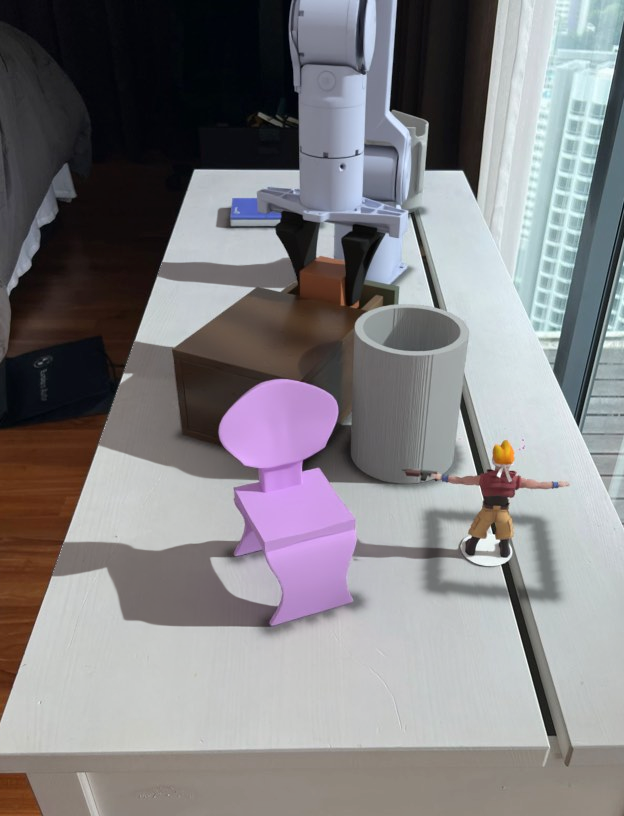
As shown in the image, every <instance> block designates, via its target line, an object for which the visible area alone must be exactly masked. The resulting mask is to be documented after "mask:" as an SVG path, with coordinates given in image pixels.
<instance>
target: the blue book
mask: <svg viewBox="0 0 624 816" xmlns="http://www.w3.org/2000/svg"><path fill="white" fill-rule="evenodd" d="M280 219H281V214H279V213H274V212H270V213H268V214H264V213H259V212H258V209H257V197H232V198H231V209H230V219H229V220H230V227H275V226H276V225H277V224H278V223H279V222H280Z"/></svg>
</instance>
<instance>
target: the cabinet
mask: <svg viewBox="0 0 624 816" xmlns="http://www.w3.org/2000/svg"><path fill="white" fill-rule="evenodd" d="M366 312H368V311H366V310H361V309H357V308H352V307H347V306H343V305H338V304H334V303H329V302H325V301H320V300H315V299H311V298H306V297H302V296H297V295H292V294H288V293H283V292H281V291H278V290H273V289H270V288H265V287H260V286H256V287H255V288H254V289H251V291H250V292H248V293H246V294H245V295H244V296H242V297H241V298H239V300H237V301H236V302H234V303H233V304H231V305H230V306H229V307H227V308H226V309H225V310H223V311H222V312H221V313H220V314H218V315H217V316H215V317H213V318H212V319H211V320H210V321H209V322H207V323H206V324H204V325H203V326H202V327H200V328H199V329H198V330H196V331H195V332H193V333H192V334H191V335H189V336H188V337H186V338H185V339H183V341H181V342H180V343H178V344H177V345H176V346H174V347H173V348H172V349H171V352H172V353H171V354H172V362H173V370H174V378H175V388H176V395H177V402H178V412H179V419H180V427H181V428H180V429H181V435H182V436H184V437H188V438H191V439H194V440H198V441H202V442H205V443H208V444H211V445H216V446H217V447H222V448H224V446H223V445H222V443H221V441H220V439H219V433H218V431H219V425H220V422H221V420H222V418H223V416H224V415H225V414H226V412H227V411H228V410H229V409H230V408H231V406H232V405H233V404H234V403H235V402H236V401H237V400H238V399H239V398H240V397H241V396H243V395H244V394H245V393H246V392H247V391H249V390H250V389H251V388H253V387H254V386H256V385H258V384H260V383H262V382H266V381H270V380H275V379H289V380H294V381H299V382H303V383H307V384H310V385H313V386H316V387H318V388H320V389H322V390H325V391H326V392H328V393H329V394H331V395H332V396H333V397H334V399H335V400H336V401H337V404H338V417H337V421H336V424H335V426H334V429H333V431H332V433H331V435H332V434H333V433H335V431H336V430H337V429H338V428H339V426H340V425H342V423H343V422H344V421H345V420H346V418H347V417H348V416H349V415H350V414H352V393H353V360H354V327H355V322H356V321H357V319H358V318H359V317H360V316H362V315H363V314H364V313H366ZM312 457H313V455H311V456H310V457H308V458H306V459H304V460H303V463H302V468H303V467H304V466H305V465H306V463H307V462H308V461H309V460H310V459H311V458H312Z"/></svg>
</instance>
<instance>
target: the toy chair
mask: <svg viewBox="0 0 624 816" xmlns="http://www.w3.org/2000/svg"><path fill="white" fill-rule="evenodd" d="M337 417H338V404H337V401H336V400H335V399H334V397H333V396H332V395H331V394H329V393H328V392H326V391H325V390H322V389H320V388H318V387H316V386H313V385H310V384H307V383H303V382H299V381H294V380H289V379H275V380H270V381H266V382H262V383H260V384H258V385H256V386H254V387H253V388H251V389H250V390H249V391H247V392H246V393H245V394H244V395H243V396H241V397H240V398H239V399H238V400H237V401H236V402H235V403H234V404H233V405H232V406H231V408H230V409H229V410H228V411H227V412H226V414H225V415H224V416H223V418H222V420H221V422H220V425H219V431H218V433H219V439H220V441H221V443H222V445H223V446H224V447H223V448H224V449H225V450H226V451H227V452H229V453H230V455H232V456H233V457H234V458H235V459H237V460H238V461H239V462H240V463H241V464H242V465H243V466H244V467H249V468H256V469H257V473H258V474H257V475H258V482H257V481H256V482H251V483H248V484H243V485H238V486H234V487H233V496H234V497H233V503H234V505H235V507H236V509H237V510H238V512H239V513H240V514H241V516H242V518H243V523H244V529H243V533H242V536H241V538H240V540H239V542H238V544H237V546H236V548H235V549H234V552H233V555H234V557H239V556H243V555H247V554H251V553H255V552H258V551H262V552H263V554H264V557H265V561H266V563H267V566H268V567H269V569H270V570H271V572H272V573H273V575H274V576H275V578H276V579H277V581H278V583H279V586H280V589H281V598H280V602H279V605H278V606H277V609H276V610H275V612H274V614H273V615H272V616H271V619H270V620H269V621H268V624H269V625H270V626H271V627H273V626H276V625H279V624H283V623H287V622H291V621H294V620H297V619H301V618H304V617H307V616H311V615H314V614H318V613H321V612H324V611H325V612H326V611H328V610H333V609H334V608H338V607H342V606H345V605H348V604H351V603H353V602H354V599H353V597H352V595H351V593H350V590H349V587H348V583H347V582H348V581H347V577H348V572H349V571H348V570H349V567H350V564H351V560H352V558H353V555H354V552H355V548H356V545H357V539H358V537H357V531H356V517H355V516H354V515H353V513H352V512H351V510H350V509H349V508H348V506H347V504H346V503H344V501H342V499H341V498H340V496H339V495H338V494H337V492H336V490H335V489H334V487H333V486H332V484H331V483H330V482H329V480H328V478H327V477H326V476H325V474H324V473H323V471H322V470H321V468H320V467H316V468H312V469H308V470H303V467H302V463H303V460H304V459H306V458H308V457H310V456H311V455H312V456H314V455H315V454H317V453H318V452H320V451H322V450H323V449H324V448H325V447H326V446H327V443H328V441H329V438H330V437H331V435H332V434H333V433H332V431H333V429H334V426H335V424H336V421H337ZM331 433H332V434H331Z"/></svg>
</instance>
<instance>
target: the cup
mask: <svg viewBox="0 0 624 816" xmlns="http://www.w3.org/2000/svg"><path fill="white" fill-rule="evenodd" d="M469 337H470V330H469V327H468V325H467V323H466V322H465V321H464V320H462V318H461V317H459V316H457V315H455V314H454V313H452V312H449V311H447V310H444V309H441V308H437V307H433V306H429V305H424V304H412V303H403V304H401V303H400V304H399V303H398V305H389V306H383V307H379V308H376V309H373V310H370V311H368V312H366V313H364V314H363V315H362V316H360V317H359V318H358V319H357V321H356V322H355V327H354V360H353V393H352V412H351V426H350V427H351V429H350V431H351V432H350V457H351V460H352V461H353V462H352V463H354V465H355V466H356V467H357V468H358V469H359V470H360V471H361V472H363V473H365V475H368V476H369V477H372V478H373V479H377V480H380V481H383V482H388V483H393V484H404V485H406V484H407V485H408V484H419V483H425V482H428V481H431V480H435V479H434V478H432V477H429V476H428V477H427V479H426V481H421V477H422V476H421V475H420V476H419V477H414V476H406V474H405V471H402V469H403V470H405V469H406V468H407V469H413V468H417V469H420V470H433V471H434V472H435V471H437V472H439V473H440V474H441V475H442V476H443V475H445V473H446V472H447V471H448V470H449V469H450V468H451V467H452V465H453V462H454V457H455V449H456V441H457V435H458V434H457V433H458V427H459V426H458V425H459V418H460V410H461V403H462V394H463V386H464V378H465V371H466V370H465V368H466V361H467V354H468V346H469Z"/></svg>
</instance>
